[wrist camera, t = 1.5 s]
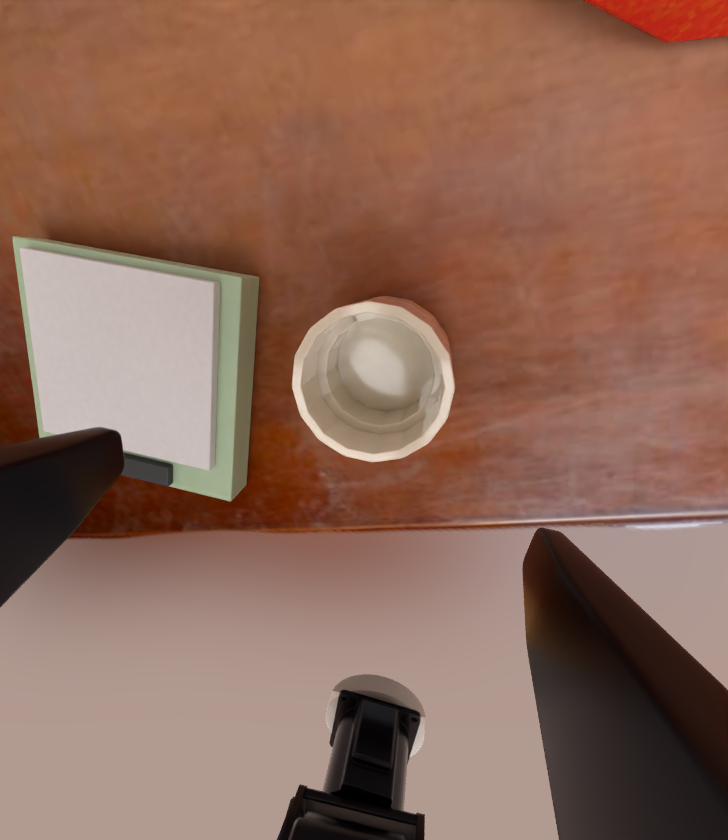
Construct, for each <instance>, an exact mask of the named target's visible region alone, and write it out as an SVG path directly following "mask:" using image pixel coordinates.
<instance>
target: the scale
mask: <svg viewBox="0 0 728 840" xmlns="http://www.w3.org/2000/svg"><path fill="white" fill-rule="evenodd" d="M12 239H13V246H14V254H15V261H16V268H17V276H18V283H19V290H20V298H21V305H22V312H23V320H24V327H25V334H26V342H27V349H28V356H29V363H30V371H31V378H32V385H33V393H34V400H35V407H36V415H37V422H38V429H39V437H40V438H42V437H47V436H52V435H58V434H63V433H68V432H73V431H79V430H84V429H89V428H94V427H104V428H108V429H113V430H116V431H118V432H119V433H120V435H121V438H122V445H123V453H124V460H125V465H124V469H123V471H122V473H121V475H123V476H127V477H132V478H136V479H140V480H144V481H148V482H152V483H156V484H160V485H164V486H170V487H174V488H178V489H182V490H186V491H190V492H194V493H198V494H202V495H206V496H210V497H214V498H219V499H223V500H227V501H232V500H233V499H234V498H235V497H236V496H237V495H238V493H239V492H240V491H241V490H242V489H243V488H244V487H245V486H246V485H247V469H248V453H249V437H250V421H251V405H252V389H253V373H254V357H255V341H256V325H257V309H258V293H259V277H257V276H252V275H246V274H240V273H235V272H229V271H223V270H218V269H212V268H207V267H201V266H195V265H190V264H184V263H179V262H173V261H167V260H162V259H156V258H150V257H145V256H139V255H134V254H128V253H122V252H117V251H111V250H106V249H100V248H94V247H89V246H83V245H77V244H72V243H66V242H61V241H55V240H49V239H40V238H29V237H18V236H13V237H12Z"/></svg>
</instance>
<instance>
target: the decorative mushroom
mask: <svg viewBox="0 0 728 840" xmlns="http://www.w3.org/2000/svg"><path fill="white" fill-rule="evenodd" d="M584 1H586V2H588V3H590V4H592V5H594V6H596V7H598V8H600V9H602V10H604V11H605V12H607V13H609V14H611V15H613V16H615V17H617V18H619V19H621V20H623V21H625V22H627V23H629V24H631V25H633V26H635V27H637V28H639V29H641V30H643V31H645V32H647V33H649V34H651V35H652V36H654V37H656V38H658V39H660V40H662V41H664V42H666V43H668V42H677V41H686V40H695V39H705V38H714V37H723V36H728V0H584Z"/></svg>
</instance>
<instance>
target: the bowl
mask: <svg viewBox="0 0 728 840" xmlns="http://www.w3.org/2000/svg"><path fill="white" fill-rule="evenodd" d="M292 389H293V392H294V396H295V399H296V403H297V406H298V410H299V413H300V415H301V417H302V418H303V420H304V421H305V422H306V424H307V425H308V426H309V428H310V429H311V430H312V432H313V433H314V434H315V436H316V437H317V438H318V439H319V440H320V441H321V442H323V443H325V444H326V445H328V446H329V447H331V448H332V449H334V450H335V451H337V452H338V453H340V454H342V455H344V456H347V457H351V458H355V459H360V460H364V461H369V462H380V461H387V460H394V459H401V458H404V457H406V456H407V455H409V454H411V453H413V452H414V451H416V450H418V449H420V448H421V447H423V446H425V445H427V444H428V443H429V442H430V441H431V440H432V439H433V437H434V436H435V435H436V433H437V432H438V431H439V429H440V428H441V427H442V426H443V424H444V423H445V422H446V420H447V418H448V416H449V411H450V407H451V403H452V399H453V395H454V391H455V380H454V370H453V362H452V356H451V350H450V344H449V339H448V337H447V335H446V334H445V332H444V331H443V329H442V328H441V326H440V324H439V323H438V321H437V320H436V318H435V317H434V316H433V315H432V314H431V313H429V312H428V311H426V310H425V309H423V308H422V307H420V306H419V305H417V304H416V303H414V302H413V301H410V300H407V299H402V298H396V297H390V296H379V297H375V298H371V299H367V300H362V301H358V302H355V303H352V304H349V305H345V306H342V307H339V308H336V309H334V310H333V311H331V312H330V313H329V314H327V315H326V316H325V317H323V318H322V319H321V320H320V321H318V322H317V323H316V324H314V325H313V326H312V327H311V328H310V329H309V330H308V332H307V334H306V336H305V337H304V339H303V341H302V343H301V345H300V347H299V348H298V350H297V352H296V354H295V357H294V367H293V378H292Z"/></svg>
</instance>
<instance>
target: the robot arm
mask: <svg viewBox="0 0 728 840" xmlns="http://www.w3.org/2000/svg"><path fill="white" fill-rule="evenodd" d="M124 465H125V460H124V453H123V445H122V438H121V435H120V433H119V432H118V431H116V430H113V429H108V428H104V427H94V428H89V429H84V430H79V431H73V432H68V433H63V434H58V435H52V436H47V437H42V438H37V439H31V440H26V441H21V442H15V443H10V444H5V445H0V607H1V606H2V605H3V604H4V603H5V602H6V601H7V600H8V599H9V598H10V597H11V596H12V595H13V594H14V593H15V592H16V591H17V590H18V589H19V588H20V587H21V586H22V585H23V584H24V583H25V582H26V581H27V579H29V578H30V576H31V575H32V574H33V573H34V572H35V571H36V570H37V569H38V568H39V567H40V566H41V565H42V564H43V563H44V562H45V561H46V560H47V559H48V558H49V557H50V556H51V555H52V554H53V553H54V552H55V551H56V550H57V549H58V548H59V547H60V546H61V545H62V543H63V542H64V541H65V540H66V539H67V538H68V537H69V536H70V535H71V534H72V533H73V532H74V531H75V530H76V529H77V528H78V527H79V525H80V524H81V523H82V522H83V521H84V519H85V518H86V517H87V516H88V514H89V513H90V512H91V511H92V509H93V508H94V507H95V506H96V505H97V503H98V502H99V501H100V500H101V498H102V497H103V496H104V495H105V493H106V492H107V491H108V490H109V488H110V487H111V486H112V485H113V483H114V482H115V481H116V480H117V478H118V477H119V476H120V475H121V473H122V471H123V469H124ZM523 586H524V606H525V625H526V640H527V650H528V657H529V663H530V669H531V675H532V681H533V687H534V693H535V698H536V704H537V711H538V717H539V723H540V728H541V734H542V740H543V746H544V752H545V758H546V764H547V770H548V776H549V782H550V788H551V794H552V800H553V806H554V812H555V818H556V824H557V830H558V835H559V840H728V690H727V689H726V688H725V687H724V686H723V685H722V684H721V683H720V682H719V681H718V680H717V679H716V678H715V677H714V676H713V675H712V674H711V673H709V672H708V671H707V670H706V669H705V668H704V667H703V666H702V665H701V664H700V663H699V662H698V661H697V660H696V659H694V657H693V656H691V655H690V654H689V653H688V652H687V651H686V650H685V649H684V648H683V647H682V646H681V645H680V644H679V643H678V642H676V640H674V639H673V638H672V637H671V636H670V635H669V634H668V633H667V632H666V631H665V630H664V629H663V628H662V627H661V626H660V625H659V624H658V623H657V622H656V621H654V620H653V619H652V618H651V617H650V616H649V615H648V614H647V613H646V612H645V611H644V610H643V609H642V608H641V607H640V606H639V605H637V603H635V602H634V601H633V600H632V599H631V598H630V597H629V596H628V595H627V594H626V593H625V592H624V591H623V590H622V589H621V588H620V587H619V586H617V585H616V584H615V583H614V582H613V581H612V580H611V579H610V578H609V577H608V576H607V575H606V574H605V573H604V572H603V571H602V570H601V569H600V568H598V567H597V566H596V565H595V564H594V563H593V562H592V561H591V560H590V559H589V558H588V557H587V556H586V555H585V554H584V553H583V552H582V551H580V550H579V549H578V548H577V547H576V546H575V545H574V544H573V543H572V542H571V541H570V540H569V539H568V538H567V537H566V536H565V535H564V534H562V533H561V532H559V531H555V530H550V529H546V528H539V529H537V531H536V532H535V534H534V536H533V539H532V541H531V543H530V546H529V548H528V551H527V553H526V555H525V558H524V561H523ZM420 721H421V714H420V713H419V712H418V711H416V710H413V709H410V708H406V707H403V706H399V705H396V704H393V703H389V702H386V701H382V700H379V699H376V698H372V697H369V696H365V695H362V694H359V693H355V692H352V691H348V690H341V691H340V693H339V697H338V702H337V708H336V713H335V718H334V723H333V728H332V733H331V738H330V745H331V746H332V747H333V749H332V753H331V757H330V761H329V766H328V770H327V774H326V778H325V783H324V787H323V791H318V790H314V789H310V788H307V786H304V785H301V784H300V785H299V787H298V791H297V793H296V796H295V797H293V798H292V799H291V800H290V804H289V807H288V811H287V814H286V817H285V820H284V823H283V826H282V829H281V831H280V834H279V836H278V838H277V840H424V823H425V821H424V819H425V818H424V816H425V815H424V814H421V813H416V814H413V813H409V812H405V811H404V799H405V786H406V772H407V764H408V760H409V757H410V754H411V751H412V747H413V744H414V741H415V738H416V735H417V731H418V728H419V725H420Z"/></svg>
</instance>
